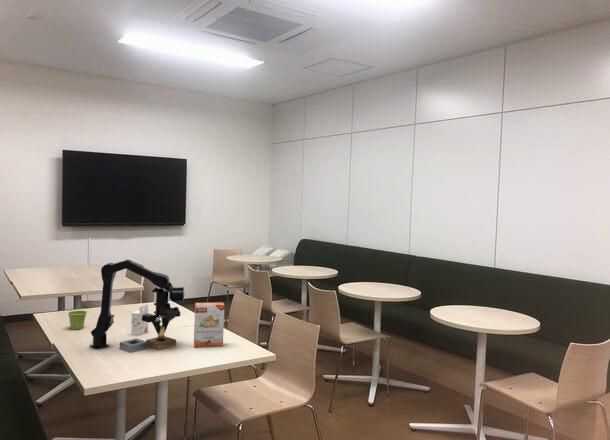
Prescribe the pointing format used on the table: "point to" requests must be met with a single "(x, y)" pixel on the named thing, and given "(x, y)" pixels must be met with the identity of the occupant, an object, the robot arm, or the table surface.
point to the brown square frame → (161, 343)
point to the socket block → (133, 345)
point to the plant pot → (77, 319)
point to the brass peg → (161, 333)
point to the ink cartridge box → (139, 321)
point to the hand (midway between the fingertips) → (161, 333)
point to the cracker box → (209, 324)
